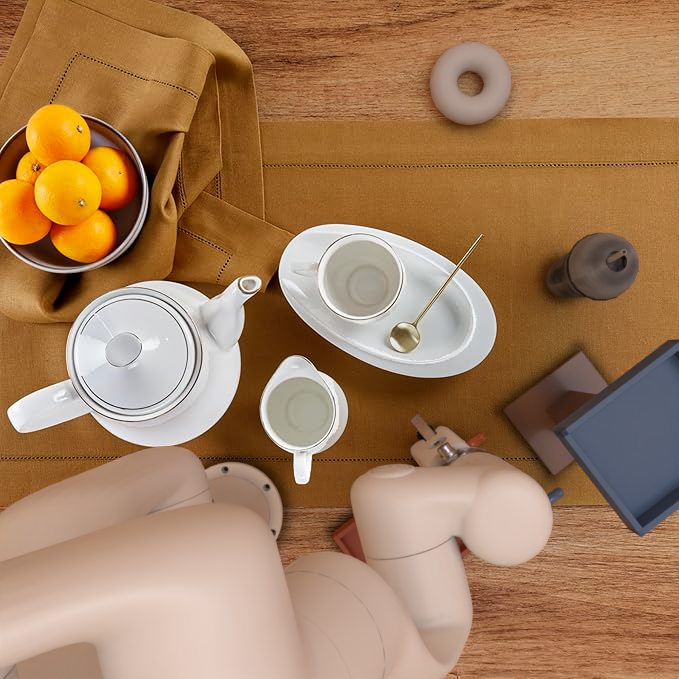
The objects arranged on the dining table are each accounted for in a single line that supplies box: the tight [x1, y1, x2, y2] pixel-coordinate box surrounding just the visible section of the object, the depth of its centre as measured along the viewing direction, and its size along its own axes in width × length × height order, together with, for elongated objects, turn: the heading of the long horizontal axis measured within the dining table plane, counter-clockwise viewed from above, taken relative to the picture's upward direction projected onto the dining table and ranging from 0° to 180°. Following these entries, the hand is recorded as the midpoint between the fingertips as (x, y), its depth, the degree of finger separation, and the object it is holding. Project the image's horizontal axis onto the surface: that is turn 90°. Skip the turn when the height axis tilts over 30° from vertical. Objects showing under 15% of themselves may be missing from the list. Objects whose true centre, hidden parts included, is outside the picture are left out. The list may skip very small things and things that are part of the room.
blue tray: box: [552, 338, 679, 538], centre depth 57 cm, size 13×11×2 cm
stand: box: [501, 350, 610, 477], centre depth 69 cm, size 12×10×22 cm
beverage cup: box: [545, 232, 640, 302], centre depth 70 cm, size 7×7×20 cm
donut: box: [429, 41, 513, 126], centre depth 79 cm, size 10×4×10 cm
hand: (443, 459), depth 79 cm, fingers closed on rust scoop, 4 cm apart
